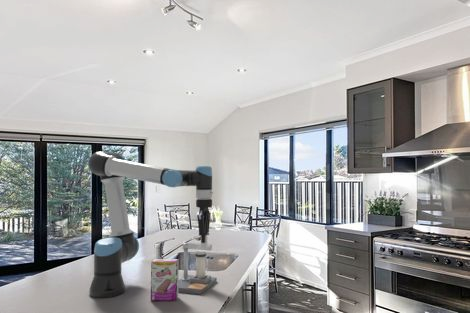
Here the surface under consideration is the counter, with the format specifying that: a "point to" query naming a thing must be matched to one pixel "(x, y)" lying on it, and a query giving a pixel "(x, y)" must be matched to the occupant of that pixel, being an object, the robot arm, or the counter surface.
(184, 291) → the grey stand
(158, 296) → the candy bar box
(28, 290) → the counter surface
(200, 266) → the clear cream cylinder
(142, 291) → the counter surface
